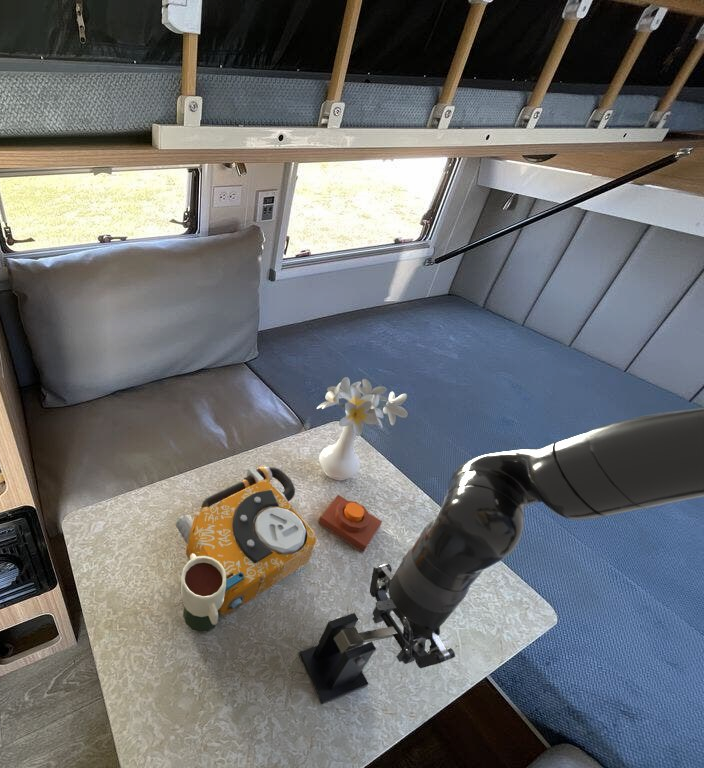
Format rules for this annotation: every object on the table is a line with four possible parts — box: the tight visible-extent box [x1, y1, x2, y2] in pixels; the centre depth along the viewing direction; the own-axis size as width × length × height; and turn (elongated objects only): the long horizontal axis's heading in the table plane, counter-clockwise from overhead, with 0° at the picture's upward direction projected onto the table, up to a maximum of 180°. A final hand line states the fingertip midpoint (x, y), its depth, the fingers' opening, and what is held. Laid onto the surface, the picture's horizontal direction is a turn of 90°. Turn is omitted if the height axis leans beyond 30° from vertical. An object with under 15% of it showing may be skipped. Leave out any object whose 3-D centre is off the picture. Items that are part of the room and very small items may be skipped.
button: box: [344, 502, 364, 522], centre depth 83 cm, size 4×4×2 cm
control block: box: [318, 494, 383, 553], centre depth 84 cm, size 10×8×4 cm
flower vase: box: [316, 376, 409, 482], centre depth 91 cm, size 13×18×25 cm
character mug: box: [180, 553, 226, 633], centre depth 67 cm, size 11×7×13 cm, turn 20°
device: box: [175, 465, 317, 615], centre depth 80 cm, size 23×8×30 cm
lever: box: [333, 612, 405, 654], centre depth 60 cm, size 12×5×2 cm, turn 107°
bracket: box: [298, 612, 377, 705], centre depth 60 cm, size 8×7×13 cm
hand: (390, 637), depth 63 cm, fingers closed on lever, 5 cm apart
